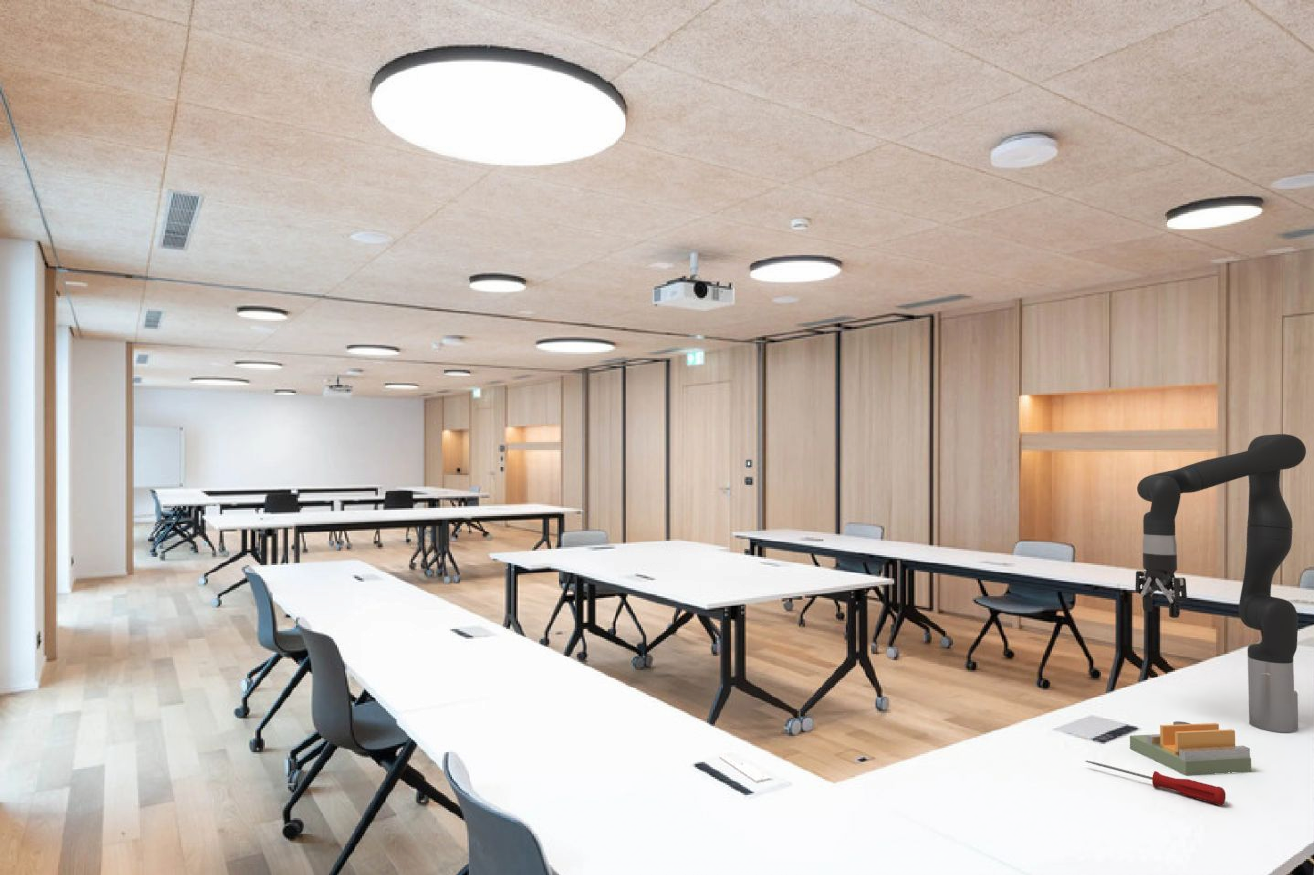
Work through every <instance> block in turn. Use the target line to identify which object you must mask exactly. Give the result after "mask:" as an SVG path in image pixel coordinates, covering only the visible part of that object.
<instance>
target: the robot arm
mask: <svg viewBox="0 0 1314 875" xmlns="http://www.w3.org/2000/svg"><path fill="white" fill-rule="evenodd" d="M1306 448H1307V447H1306V445H1305V444H1304V442H1303V441H1302V440H1301V439H1300V438H1299V437H1297V436H1295V435H1292V434H1286V433H1277V434H1275V433H1274V434H1264V435H1260V436H1257V437H1254V438H1253V439H1252V440H1251V442H1249V444H1248V446H1247V450H1245V451H1240V452H1237V453H1234V454H1229V455H1223V456H1218V457H1213V458H1210V459H1205V460H1201V461H1197V462H1195V463H1191V464H1188V465H1185V466H1183V467H1179V468H1177V469H1173V470H1167V471H1161V472H1158V473H1153V474H1150V475H1148V476H1145V477H1143V478H1142V479H1141V480H1140V481H1139V482H1138V484H1137V487H1136V490H1137V494H1138V496H1139V497H1140V498H1141V499H1143V500H1144V501H1146V502H1150V504H1151V505H1150V510H1149V511H1147V512H1145V514H1144V515H1143V520H1142V522H1143V523H1142V526H1143V527H1142V529H1143V531H1142V532H1143V534H1142V535H1143V536H1142V568H1143V570H1136V572H1135V590H1134V591H1135V593H1136V594H1139V595H1140V596H1141V598H1142V608H1143V610H1142V611H1144V612H1147V613H1149V612H1150V613H1151V612H1153V609H1154V607H1153V606H1154V605H1153V604H1154V603H1153V602H1154V601H1153V597H1152V596H1153V595H1154V593H1155V592H1157V591H1158V592H1160V593H1162V594H1163V595H1164V596H1165V597H1166V599H1167V600H1168V616H1169V618H1172V619H1177V618H1179V617H1180V614H1181V612H1180V610H1181V609H1180V605H1181V603H1185V602H1187V601H1188V593H1187V580H1186V578H1185V577H1176V576H1175V572H1176V571H1177V570H1178V545H1177V539H1176V517H1177V513H1178V511H1179V506H1180V502H1181V497H1182V496H1181V494H1191V493H1196V492H1197V493H1198V492H1200V491H1203V490H1207V489H1209V488H1213V487H1215V486H1219V485H1222V484H1225V483H1229V482H1232V481H1234V480H1237V479H1241V478H1245V477H1248V487H1249V489H1248V512H1247V514H1248V515H1247V522H1246V523H1247V526H1246V550H1245V551H1246V553H1245V563H1244V574H1243V579H1242V580H1243V581H1242V585H1241V590H1240V596H1239V604H1238V614H1239V618H1240V620H1241V622H1242V623H1243V625H1244V626H1246V627H1247V628H1250V629H1253V630H1256V631H1261V632H1262V635H1261V636H1262V638H1261V641H1260V642H1258V643H1252V644H1250V645H1248V647H1247V678H1248V679H1247V683H1248V684H1247V685H1248V686H1247V687H1248V689H1247V690H1248V722H1249V725H1250V726H1253V727H1255V728H1257V729H1262V730H1265V731H1270V732H1276V733H1293V732H1296V730H1298V731H1299V705H1298V704H1299V698H1298V696H1299V694H1298V692H1297V691H1296V690H1295V674H1294V669H1295V668H1294V656H1295V653H1296V652H1297V648H1298V633H1299V632H1298V629H1299V628H1298V627H1299V617H1298V612H1297V609H1296V607H1295V605H1294V604H1293V603H1292V602H1290V601H1289V600H1287V599H1284V598H1279V597H1276V596H1275V597H1274V596H1272V595H1271V594H1272V593H1271V592H1272V583H1273V578H1274V575H1275V573H1276V571H1277V570H1278V568H1279V567H1280V566H1281V564H1282V563H1283V561H1285V559H1286V557H1287V556H1288V555H1289V553H1290V551H1291V549H1292V542H1293V520H1292V516H1291V513H1290V510H1289V509H1288V507H1287V505H1286V502H1285V499H1284V497H1283V495H1282V493H1281V487H1280V483H1281V481H1280V480H1281V470H1289V469H1293V468H1295V467H1297V466H1299V465H1300V464H1302V462H1303V461H1304V459H1305V457H1306V454H1307V449H1306Z"/></svg>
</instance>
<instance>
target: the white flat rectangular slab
mask: <svg viewBox="0 0 1314 875" xmlns="http://www.w3.org/2000/svg"><path fill="white" fill-rule="evenodd" d="M719 760H721V761H723V762H724V763H726V764H727V765H729V766H730V767H731V768H733V769H734V770H736V771H738V772H739V773H740V774H742V775H744V776H745V777H747V778H748V779H750V780H751V781H753V782H755V783H756V784H758V783H764V782H768V781H772V780H773V781H774V778H772V777H771V776H769V775H768V774H766V773H765V772H763V771H762V770H760V769H758V767H755V766H754V765H752V764H751V763H749V762H744V761H742V762H741V764H740V763H737V762H736V761H734V760H733V759H731V758H730V757H729V756H727V754H725V755H719Z"/></svg>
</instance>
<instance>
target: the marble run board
mask: <svg viewBox="0 0 1314 875" xmlns="http://www.w3.org/2000/svg"><path fill="white" fill-rule="evenodd" d="M1172 723H1173V724H1172V725H1179V724H1191V723H1190V722H1186V721H1179V720H1178V721H1173V722H1172ZM1147 735H1148V734H1138V735H1136V734H1133V735H1129V749H1131V750H1133V751H1134V752H1136V751H1137V753H1139V754H1140V755H1142V756H1144V757H1147V758H1149V759H1151V760H1153V761H1155V762H1158V763H1159V764H1162V765H1164V766H1166V767H1168V768H1170V769H1171V770H1174V771H1176V772H1177V773H1180V774H1182V775H1183V776H1186V777H1187V776H1204V775H1205V776H1206V775H1216V774H1215V773H1224V774H1233V773H1232V772H1241V773H1252V757H1250V758H1232V759H1214V760H1196V761H1184V760H1181V759H1179V756H1177V755H1175V754H1173V753H1171V752H1169V751H1167V750H1164V749H1162V748H1160V746H1151V745H1149V744H1147ZM1228 772H1230V773H1228Z"/></svg>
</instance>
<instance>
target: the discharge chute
mask: <svg viewBox="0 0 1314 875" xmlns="http://www.w3.org/2000/svg"><path fill="white" fill-rule="evenodd" d="M1159 734H1160V748H1162V749H1164V750H1167V751H1169V752H1171V753H1173V754H1175V755H1177V756H1179V749H1191V748H1211V747H1230V746H1236V731H1235V729H1232V728H1231V729H1220V724H1219V723H1217V722H1211V723H1210V722H1209V723H1190V724H1179V725H1173V724H1160V725H1159Z"/></svg>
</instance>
